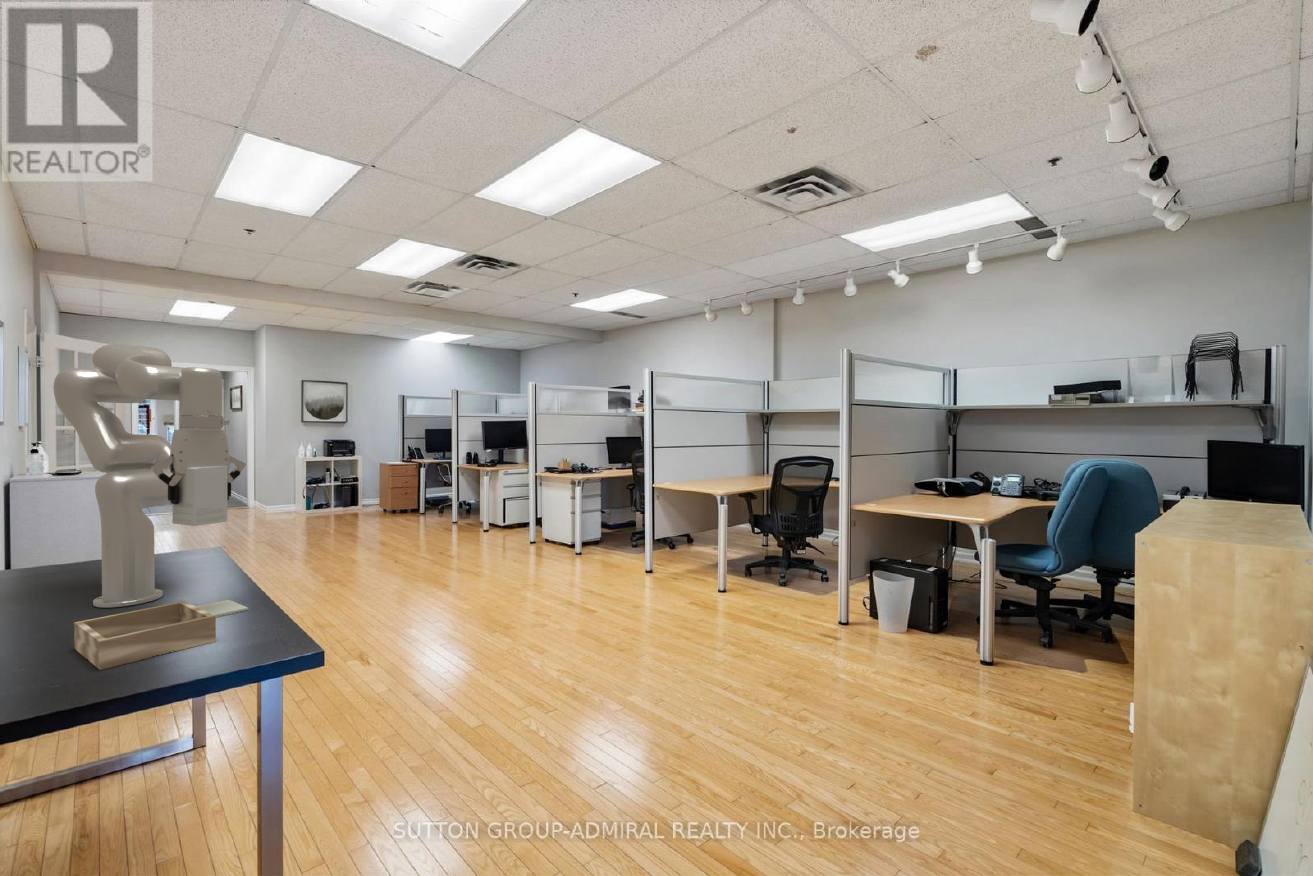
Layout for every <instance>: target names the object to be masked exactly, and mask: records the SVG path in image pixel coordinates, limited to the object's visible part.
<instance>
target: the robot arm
mask: <svg viewBox="0 0 1313 876" xmlns="http://www.w3.org/2000/svg"><path fill="white" fill-rule="evenodd" d="M92 364H93V365H94V367H95V368H94V367H71V368H68V369H64V370H62V371H60V372H58V373H57V375H56V376H55V378H54V381H53V396H54V399H55V402H56V405H57V407H58V408H59V411H60V412H61V413H62V415H63V416H64V418H65V419H67V421H68V422H69V423H70V424H71V426H72V427H73V428H74V429H75V431H76V433H77V436H78V438H79V440H80V442H81V445H82V447H83V449H84V452H85V453H86V456H87V458H88V461H90V465H91V466H93V468H94V469H95V471H98V472H100V473H105V474H103V475H101V476H100V477H99V478H98V479H97V481H96V482H95V485H94V493H95V497H96V502H97V505H98V509H99V516H100V529H101V530H100V533H101V535H100V536H101V537H100V538H101V596H97V597H96V598H94V599H93V600H92V604H93V606H94V607H95V608H108V609H109V608H120V607H121V608H122V607H128V606H129V607H130V606H135V605H142V604H145V603H148V602H152V601H156V600H158V599H160V598H162V597H163V596H164V591H163V590H162V589H159V588H156V586H155V585H156V583H155V576H156V575H155V570H156V569H155V567H156V566H155V564H156V562H155V526H154V523H153V521H152V520H151V518H149V516H148V515H146V514H145V513H144V511H143V510H142V509H146V508H154V507H164V506H173V504H179V486H177V483H178V482H179V480H180V479H181V478H182V477H183V476H184V475H185V474H186V470H187V468H192V467H216V466H227V501H229V500H230V498H229V497H232V483H233V482H235V481H234V480H236V479H237V478H238V476H240V475H241V473H242V472H243V470H244V468H245V467H246V465H247V464H246V463H245V462H243V461H242V460H239V459H237V458H235V457H233V456H231V455H230V448H229V443H228V437H227V432H226V430H224V429H223V427H224V426H229V424H230V419H229V418H224V416H222V415H223V375H222V374H223V373H222V372H221V371H220V370H219V369H216V368H210V367H209V368H208V367H196V366H195V367H194V366H193V367H192V366H191V367H182V366H181V367H179V366H173V364H172V360H171V358H170V356H169V354H168V353H167V352H165V351H164V350H162V349H159V348H157V347H152V346H141V345H132V344H125V343H124V344H123V343H110V344H104V345H102V346H101V347H99V348H97V349H96V350H95V351H94V352H93V354H92ZM146 400H152V401H155V400H159V401H178V402H179V403H178V407H179V408H178V415H179V416H178V429H174V430H173V432H172V437H171V441H170V442H171V443H170V442H169V441H168V440H167V438H165V437H163V436H161V435H158V434H151V433H150V434H148V433H146V434H143V433H142V434H137V433H136V434H135V433H129V432H127V431H126V428H125V427H124V424H123V422H122V420H121V419H120V418H119V417H118V416H117V415H116V414H115V413H114V412H113V411H111V410H109V409H108V408H106V407H104V406H103V405H101V404H99V403H107V404H108V403H111V404H113V403H114V404H138V403H142V402H145V401H146ZM230 464H232V465H234V466H235V467H234V469H233V470H232V471H230V473H229V470H230V467H231V466H230ZM173 467H174V468H175V471H173Z"/></svg>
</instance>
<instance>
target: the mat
mask: <svg viewBox="0 0 1313 876" xmlns="http://www.w3.org/2000/svg"><path fill="white" fill-rule="evenodd" d="M194 606H195V607H197V608H200V609H202V610H204V611H206V612H208V613H210V614H212V615H214V616H216V618H220V617H223V616H222V615H225V616H227V615H226V614H229V615H233V614H232V613H234V614H236V613H235V612H238V613H240V612H239V611H243V610H247V611H249V607H248V606H245V605H242V604H240V603H238V602H235V601H233V600H231V599H224V600H220V601H215V602H208V603H205V604H199V605H194ZM243 612H244V611H243ZM219 616H220V617H219Z"/></svg>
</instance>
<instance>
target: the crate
mask: <svg viewBox="0 0 1313 876" xmlns="http://www.w3.org/2000/svg"><path fill="white" fill-rule="evenodd" d="M195 606H196V605H193V604H191V603H188V602H187V601H184V600H183V601H177V602H174V603H167V604H163V605H157V606H151V607H148V608H141V609H137V610H132V611H126V612H121V613H116V614H112V615H106V616H102V617H101V616H100V617H95V618H91V619H85V620H79V621H74V622H73V624H74V625H73V632H74V633H73V635H74V644H73V645H74V650H76V652H78V653H79V654H80V655H81V656H83V658H85V660H87V659H88V660H87V661H89V663H91V664H92V665H93V666H94V667H96V669H98V670H100V671H102V670H106V669H111V668H115V667H118V666H122V665H127V664H130V663H134V662H138V661H142V659H143V660H146V659H151V658H153V657H152V656H155V657H157V656H156V655H159V656H163V655H166V653H167V654H170V653H169V652H171V653H174V651H175V652H178V651H183V650H186V649H189V648H194V647H197V646H202V645H203V646H204V645H207V644H209V643H210V644H212V643H214V642H216V641H217V635H216V631H217V628H216V626H217V625H216V620H217V619H216V618H217V617H216V616H214V615H212V614H210V613H208V612H206V611H204V610H202V609H200V608H197V607H195ZM162 654H163V655H162ZM150 657H151V658H150Z"/></svg>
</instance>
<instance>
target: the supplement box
mask: <svg viewBox="0 0 1313 876" xmlns="http://www.w3.org/2000/svg"><path fill="white" fill-rule="evenodd" d="M173 471H175V468H174V467H173ZM177 486H179V504H173V505H172V524H173V525H183V526H190V527H191V526H192V527H196V526H198V527H199V526H206V525H211V524H212V525H213V524H219V523H226V522H228V500H227V466H216V467H192V468H187V470H186V474H185V475H184V476H183V477H182V478H181V479H180V480H179V482H178V483H177Z"/></svg>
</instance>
